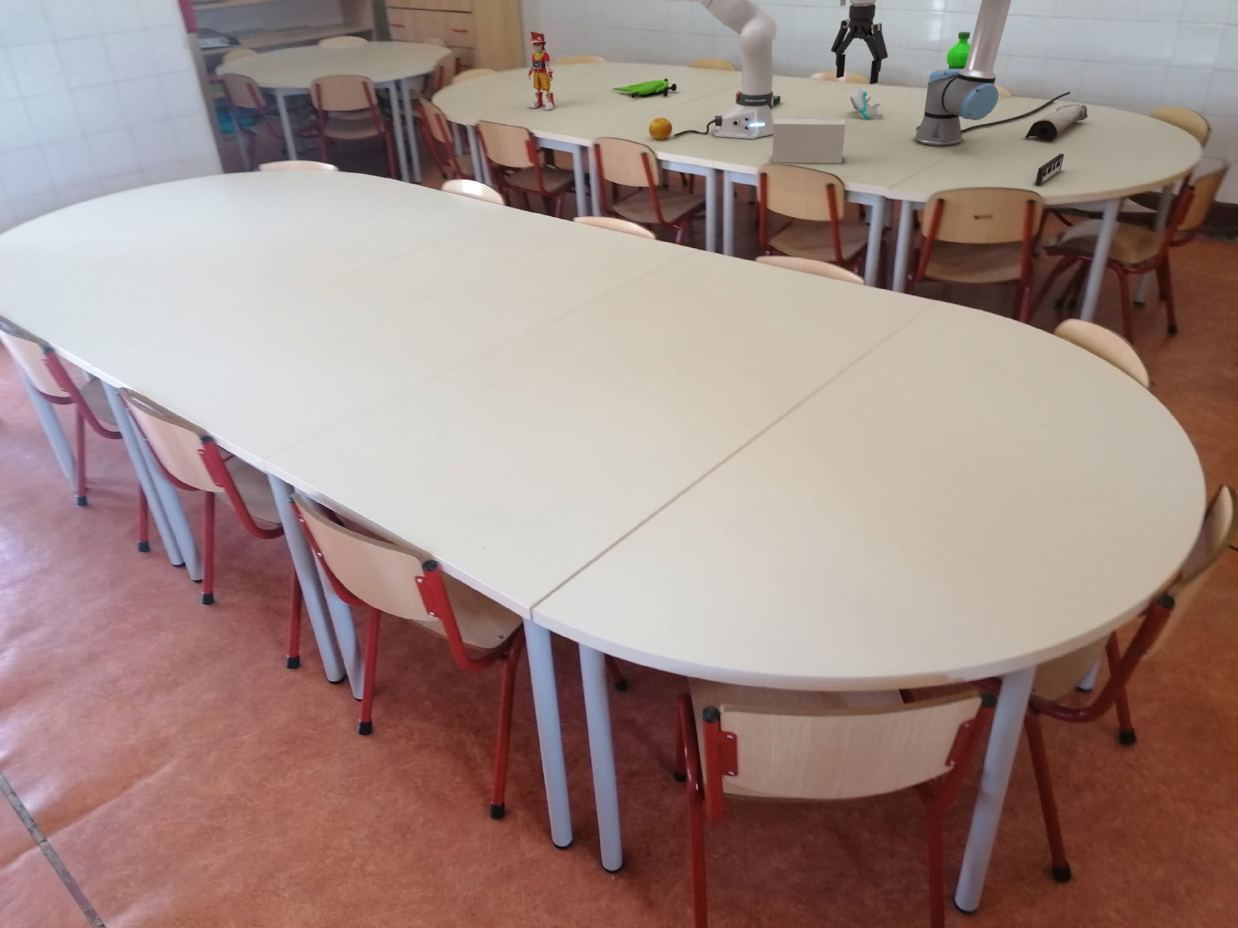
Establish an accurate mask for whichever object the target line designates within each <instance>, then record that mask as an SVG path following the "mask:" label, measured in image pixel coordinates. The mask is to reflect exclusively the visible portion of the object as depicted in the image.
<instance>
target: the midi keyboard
mask: <svg viewBox="0 0 1238 928" xmlns="http://www.w3.org/2000/svg"><path fill="white" fill-rule="evenodd" d="M1064 157H1065V153H1059V154H1058V155H1056V156H1055V157H1052V159H1051V160H1049V161H1047V162H1045V164H1042V165H1041V166H1039V167H1038V169H1037V175H1036V179H1035V186H1040V185H1042V183H1044V182H1045V181H1047V180H1048V179H1049V178H1051V177H1052V176H1054V175H1055V174H1056V173H1058V172H1060V171H1061V170H1062V165H1063V161H1064Z"/></svg>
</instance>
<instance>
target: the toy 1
mask: <svg viewBox="0 0 1238 928" xmlns="http://www.w3.org/2000/svg"><path fill="white" fill-rule="evenodd" d="M529 33H530V35H531V36H528V37H527V38H528V39H529V40H528V41H527V43H529V44H530V43H531V44H532V48H533V50H534V51H533V52H532V55H531V58H530V59H531V63H530V66H528V74H527V75H528V76H527V77H528V79H529V80H531V75H532V74H533V84H532V85H533V86H532V87H533V88H534V89H535V90H536V92H534V95H535V97H536V100H535V101H533V102H531V105H530V108H531V109H535V108H538V107H542V106H544V101H543V100H544V99H543V95H544V92H546V94H545V97H546V99H547V103H546V104H545V106H544V110H546V111H549V110H553V109H554V107H555V106H556V105H555V99H554V92H551V91H550V90H551V86H552V84H551V82H552V81H553V80H554V77H553V73H554V71H555V70H554V69H552V68H551V63H550V61H551V59H550V58H551V57H550V54H549V53H548V52H547V50H546V48H545V46H546V44H547V41H545V35H544V33H543V32H542V33H539V32H535V31H529Z"/></svg>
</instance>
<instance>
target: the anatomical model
mask: <svg viewBox="0 0 1238 928" xmlns="http://www.w3.org/2000/svg"><path fill="white" fill-rule="evenodd" d="M858 89H859V90H858V91H857V93H855V94H851V96H850V102H851V104H852V106H853V109H854V110H856V111H859V112H860V114H861V115H862V117H863V118H864V119H865V120H870V119H871V118H882V117H884V113H883V112H878V108H879V106H880V105H881V103H880V102H877V103H874V104H871V105H869V101H870V100H871V99H872V96H869V97H867V96H868V92H867V91H865V90H864V89H863V88H858Z"/></svg>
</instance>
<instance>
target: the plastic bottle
mask: <svg viewBox="0 0 1238 928" xmlns="http://www.w3.org/2000/svg"><path fill="white" fill-rule="evenodd" d="M970 36H971V32H970V31H959V32H958V36H957V39H958V42H957V43H956V44H954V45H953V46H952V47H951V48H950V49H949V50H948V52H947V54H946V63H947V64H948V69H964V68H965V66H966V62H967V58H968V54H969V50H970V46H971V43H969V42H968V41H969V39H970V38H971V37H970Z"/></svg>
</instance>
